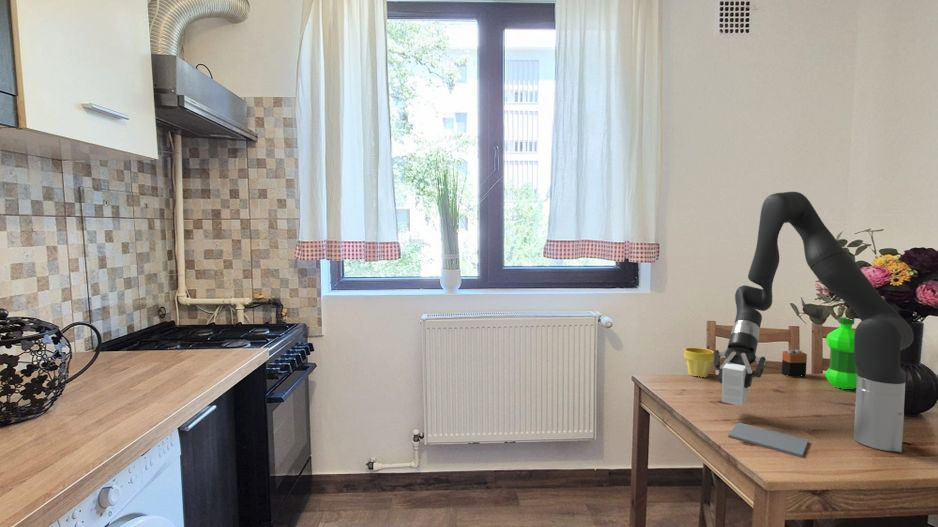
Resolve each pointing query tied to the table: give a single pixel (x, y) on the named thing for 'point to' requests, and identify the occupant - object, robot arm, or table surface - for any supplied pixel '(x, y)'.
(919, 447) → the table surface
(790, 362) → the battery
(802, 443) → the mat
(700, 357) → the plant pot
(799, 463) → the table surface
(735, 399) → the small box
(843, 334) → the plastic bottle
